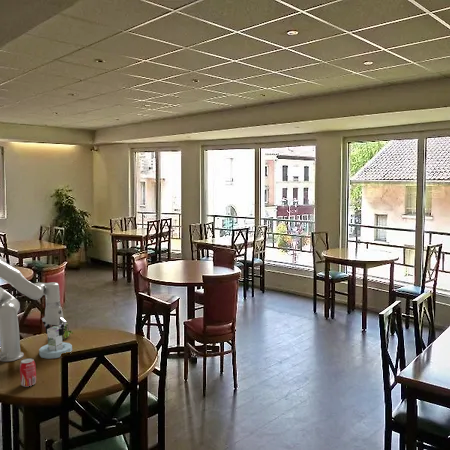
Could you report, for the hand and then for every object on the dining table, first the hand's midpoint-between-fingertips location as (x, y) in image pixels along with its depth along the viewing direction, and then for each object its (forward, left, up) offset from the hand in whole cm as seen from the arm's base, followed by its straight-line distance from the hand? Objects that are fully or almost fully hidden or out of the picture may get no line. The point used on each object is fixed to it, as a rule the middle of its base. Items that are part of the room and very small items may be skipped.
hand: (54, 334), depth 269 cm
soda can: (-37, -19, -11) cm, 43 cm away
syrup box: (0, 0, -11) cm, 11 cm away
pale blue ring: (0, 0, -11) cm, 11 cm away
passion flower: (+22, +15, -11) cm, 29 cm away
